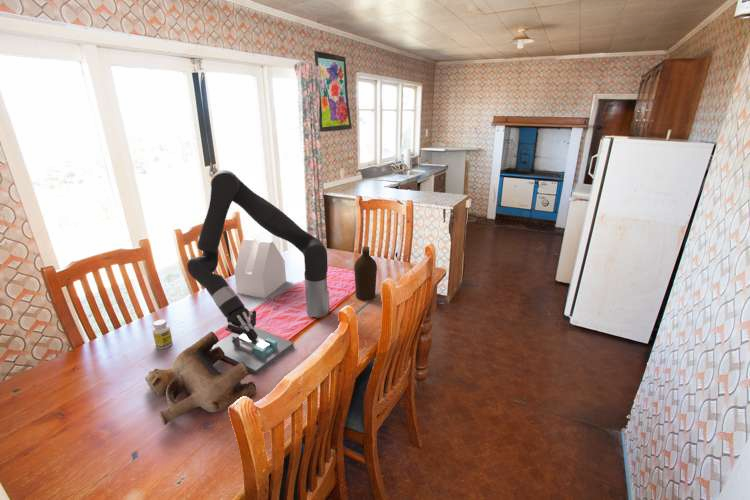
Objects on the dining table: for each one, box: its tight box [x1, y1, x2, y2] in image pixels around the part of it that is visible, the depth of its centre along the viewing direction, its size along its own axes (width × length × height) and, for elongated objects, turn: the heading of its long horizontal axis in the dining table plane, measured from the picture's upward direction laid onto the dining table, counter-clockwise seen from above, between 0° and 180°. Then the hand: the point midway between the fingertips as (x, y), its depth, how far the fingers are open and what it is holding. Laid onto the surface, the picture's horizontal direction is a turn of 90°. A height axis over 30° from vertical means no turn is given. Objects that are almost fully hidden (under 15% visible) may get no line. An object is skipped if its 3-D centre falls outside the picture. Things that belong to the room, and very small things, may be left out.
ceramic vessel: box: [144, 331, 257, 426], centre depth 109 cm, size 13×31×25 cm
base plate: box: [210, 325, 294, 376], centre depth 130 cm, size 18×24×6 cm
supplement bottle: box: [152, 319, 173, 350], centre depth 131 cm, size 5×5×10 cm
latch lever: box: [239, 334, 270, 350], centre depth 129 cm, size 3×1×13 cm
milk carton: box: [233, 237, 287, 299], centre depth 174 cm, size 19×15×25 cm
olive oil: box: [353, 246, 378, 301], centre depth 166 cm, size 11×11×25 cm
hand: (255, 339), depth 129 cm, fingers closed
